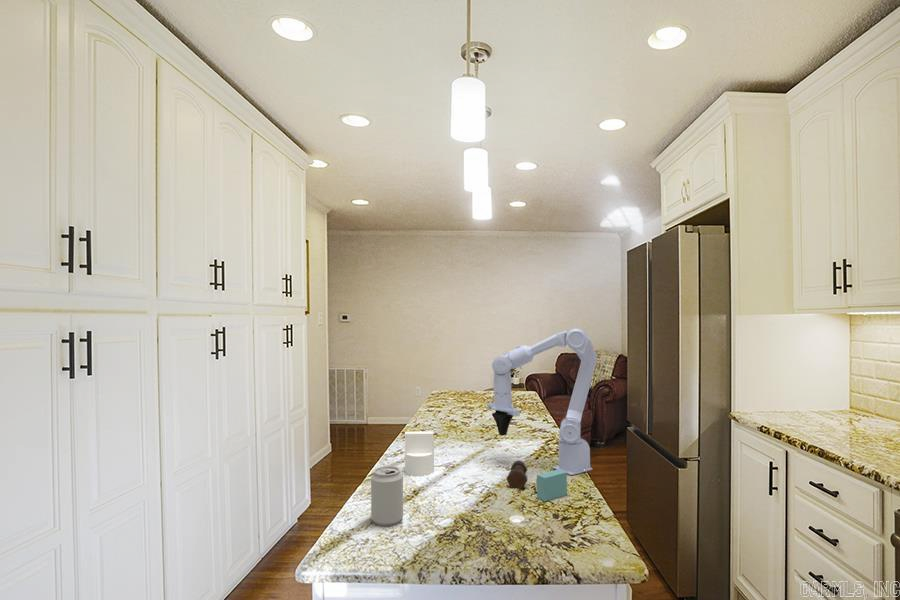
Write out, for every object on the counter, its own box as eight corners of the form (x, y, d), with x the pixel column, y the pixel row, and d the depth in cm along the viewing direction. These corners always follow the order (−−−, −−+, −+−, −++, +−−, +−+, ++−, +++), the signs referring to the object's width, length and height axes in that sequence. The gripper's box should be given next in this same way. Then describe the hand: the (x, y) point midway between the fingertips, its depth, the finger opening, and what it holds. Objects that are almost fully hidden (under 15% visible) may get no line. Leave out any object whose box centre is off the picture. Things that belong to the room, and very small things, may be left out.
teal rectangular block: (550, 487, 130) (550, 466, 130) (566, 494, 125) (566, 472, 125) (529, 494, 126) (529, 471, 126) (545, 501, 121) (544, 478, 121)
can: (389, 530, 105) (389, 476, 106) (364, 522, 109) (364, 471, 110) (409, 517, 112) (409, 467, 112) (385, 511, 116) (385, 462, 116)
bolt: (522, 477, 144) (519, 494, 130) (507, 468, 145) (503, 484, 131) (531, 461, 144) (529, 476, 130) (517, 452, 145) (513, 466, 131)
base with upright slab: (434, 466, 149) (433, 428, 150) (433, 476, 140) (433, 436, 141) (405, 466, 149) (405, 429, 150) (403, 476, 140) (403, 436, 141)
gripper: (479, 390, 156) (479, 431, 155) (507, 397, 144) (507, 441, 143) (496, 389, 160) (496, 429, 159) (524, 395, 147) (525, 438, 147)
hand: (502, 434), depth 151 cm, fingers closed
